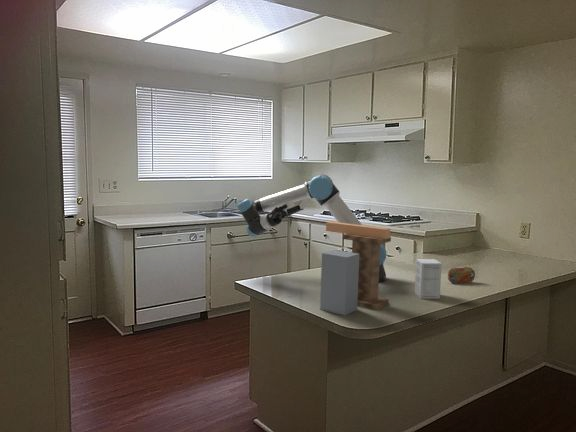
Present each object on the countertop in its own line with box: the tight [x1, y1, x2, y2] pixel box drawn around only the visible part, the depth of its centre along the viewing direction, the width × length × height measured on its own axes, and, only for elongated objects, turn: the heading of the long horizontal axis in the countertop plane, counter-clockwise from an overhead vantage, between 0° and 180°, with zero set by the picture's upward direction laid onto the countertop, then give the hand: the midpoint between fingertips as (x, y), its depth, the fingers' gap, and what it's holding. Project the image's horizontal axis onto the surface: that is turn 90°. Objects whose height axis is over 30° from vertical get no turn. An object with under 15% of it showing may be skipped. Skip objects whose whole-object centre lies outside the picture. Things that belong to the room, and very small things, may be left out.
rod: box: [325, 221, 391, 239], centre depth 213 cm, size 30×4×4 cm, turn 52°
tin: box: [447, 266, 476, 285], centre depth 252 cm, size 15×3×8 cm, turn 105°
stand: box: [342, 233, 392, 311], centre depth 212 cm, size 18×12×30 cm, turn 52°
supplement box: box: [414, 258, 443, 300], centre depth 225 cm, size 10×9×17 cm
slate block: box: [319, 249, 359, 316], centre depth 202 cm, size 12×10×24 cm
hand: (301, 201), depth 229 cm, fingers open, 13 cm apart
